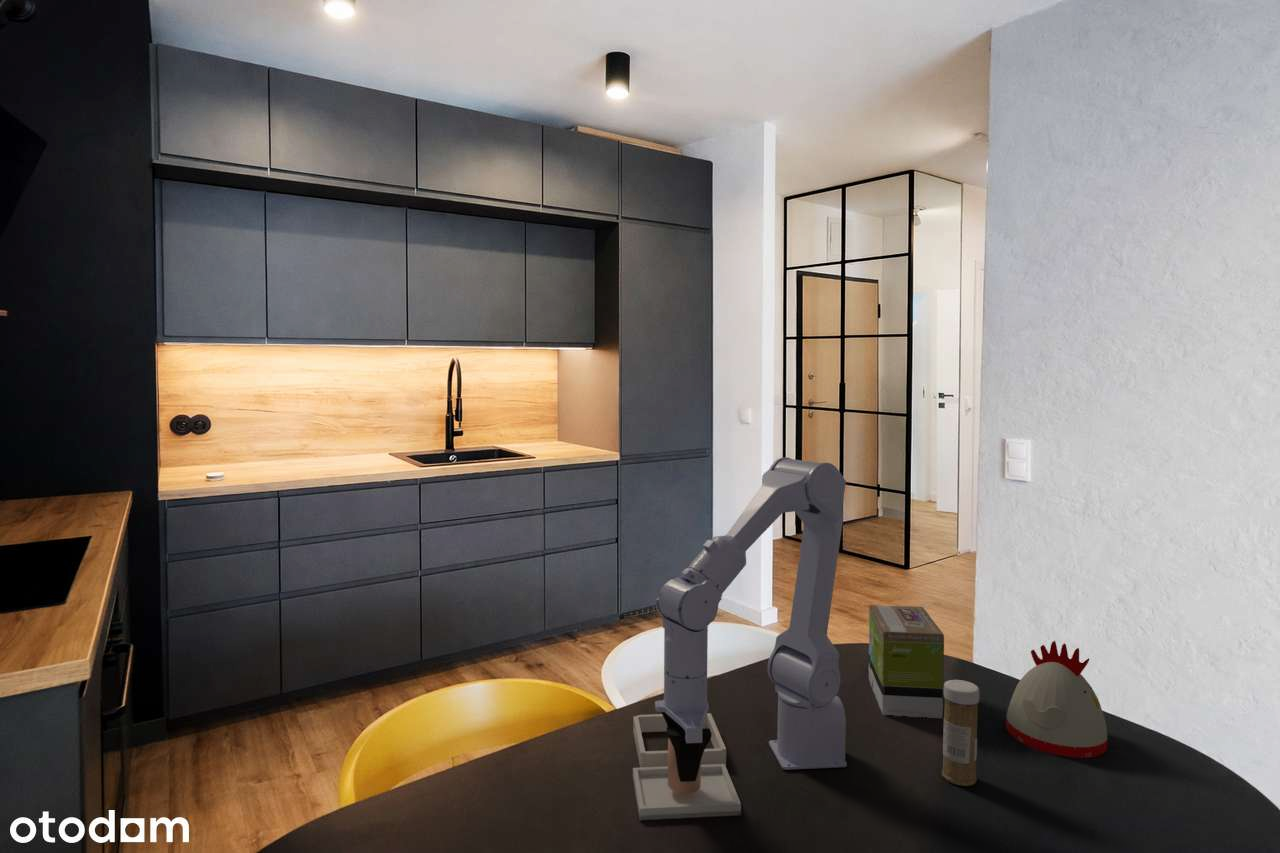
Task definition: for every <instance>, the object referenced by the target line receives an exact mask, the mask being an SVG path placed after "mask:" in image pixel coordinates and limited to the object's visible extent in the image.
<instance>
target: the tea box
mask: <svg viewBox="0 0 1280 853" xmlns="http://www.w3.org/2000/svg"><path fill="white" fill-rule="evenodd" d="M868 609H869V610H868V612H869V613H868V622H869V623H868V680H869V683H870V687H871V690H872V691H873V694H874V696H875V697H874V698H875V700H876V702H877V705H878V707H879V710H880V711H881V712H880V713H881V714H882V716H887V715H894V716H893V717H901V716H907V717H906V718H919V717H920V718H921V717H924V718H923V719H942V718H943V716H944V713H943V711H944V667H945V666H944V665H945V664H944V659H945V658H944V657H945V656H944V654H945V634H944V632H942V630H941V629H940V627H939V626H938V625H937V623H936V622H935V621H934V620H933V618H932V617H931V616H930V614H929V613H928V612H927V610H925V608H924V607H923V606H909V605H908V606H907V605H906V606H905V605H904V606H903V605H902V606H901V605H874V604H873V605H871V604H869V607H868ZM925 717H927V718H925ZM920 718H919V719H920ZM921 719H922V718H921Z"/></svg>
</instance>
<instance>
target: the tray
mask: <svg viewBox="0 0 1280 853" xmlns="http://www.w3.org/2000/svg"><path fill="white" fill-rule="evenodd" d="M726 766H727V765H726ZM726 766H725V764H708V765H701V787H700V788H699V790H697V791H695V792H693V793H678V792H675V791H673V790H671V789H670V788H669V787H668V766H663V767H641V768H640V767H632V781H633V783H632V784H633V787H634V795H635V802H636V807H637V812H638V820H639V821H651V820H669V819H670V820H672V819H689V818H692V819H693V818H706V817H707V818H710V817H731V816H742V803H741V801H740V798H739V795H738V793H737V790H736V788H735V786H734V783H733V781H732V778H731V776H730V774H729V772H728V769H727V767H726Z"/></svg>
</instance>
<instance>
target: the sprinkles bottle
mask: <svg viewBox="0 0 1280 853" xmlns="http://www.w3.org/2000/svg"><path fill="white" fill-rule="evenodd" d="M943 700H944V708H943V711H944V713H943V736H942V754H943V755H942V756H943V757H942V758H943V760H942V770H941V776H942V777H943V778H944V780H946V781H947V782H949V783H951V784H953V785H957V786H962V787H969V786H974V785H975V784H976V782H977V779H978V777H977V760H978V758H977V757H978V737H977V736H978V705H979V702H980V689H979V687H978V685H976V684H974V683H973V682H970V681H968V680H960V679H949V680H946V681H945V682H943Z"/></svg>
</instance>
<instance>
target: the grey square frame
mask: <svg viewBox="0 0 1280 853" xmlns="http://www.w3.org/2000/svg"><path fill="white" fill-rule="evenodd" d="M632 721H633V727H632V728H633V730H632V731H633V736H634V742H635V747H636V753H637V757H638V758H637V759H638V762H639V763H638V764H639V768H641V767H663V766H668V749H667V750H648V751H647V750H646V748H645V744H644V739H643V735H642V733H654V732H655V733H656V732H657V733H659V732H660V733H661V732H667V727H668V726H667V723H666V721H665V719H664V717H663V715H662V713H655V714H638V715H633V719H632ZM706 728H710V731H711V733H712V736H711V740H710V742H711V744H712V747H713V748H705V750H704V752H703V755H702V758H701V765H708V764H725V766H727V748H726V746H725V743H724V741H723V739H722V738H723V737H721V734H720V732H719V729H718V727H717V724H716V722H715V720H714V717H713V715H712V713H710V712H709V713H708V712H707V715H706V717H705V720H704V722H703V725H702V729H706Z"/></svg>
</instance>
